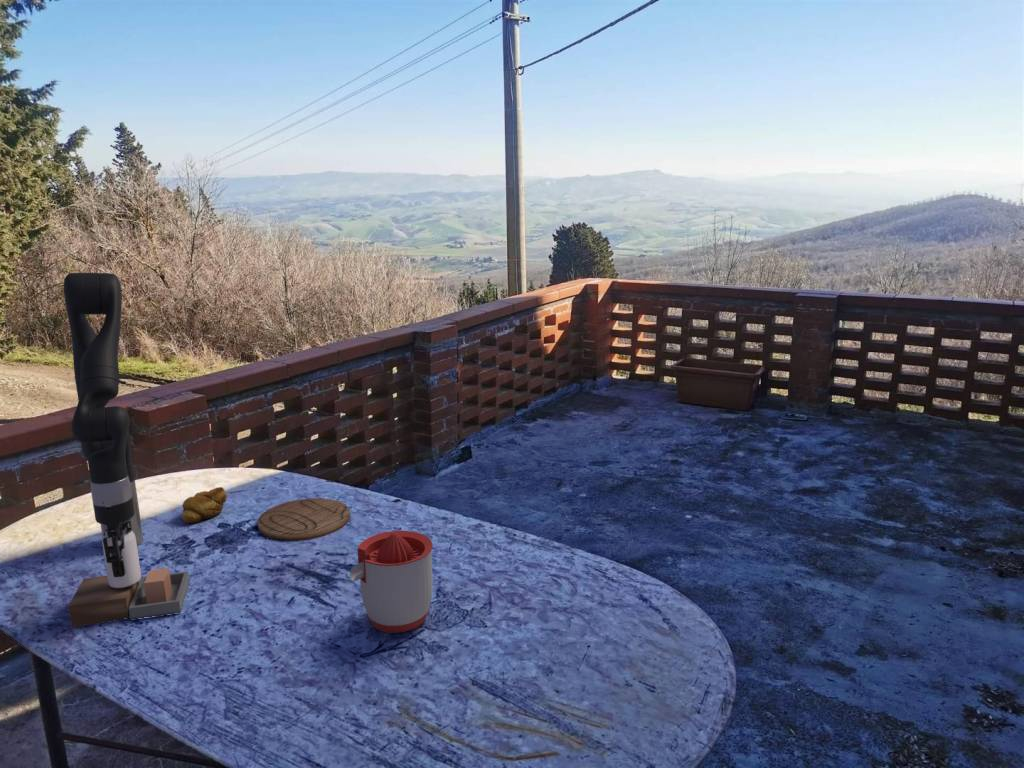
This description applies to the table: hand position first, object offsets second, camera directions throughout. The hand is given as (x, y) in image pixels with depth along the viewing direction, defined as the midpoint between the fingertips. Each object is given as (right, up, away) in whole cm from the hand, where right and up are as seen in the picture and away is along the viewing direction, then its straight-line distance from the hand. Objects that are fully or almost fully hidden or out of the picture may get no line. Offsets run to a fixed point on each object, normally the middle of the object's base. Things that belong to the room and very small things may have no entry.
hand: (123, 568), depth 161 cm
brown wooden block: (-4, -9, +1) cm, 10 cm away
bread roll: (-3, +2, +49) cm, 49 cm away
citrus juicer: (+60, -10, -5) cm, 61 cm away
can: (0, -3, +1) cm, 3 cm away
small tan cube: (+4, -5, +2) cm, 7 cm away
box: (+7, -8, +4) cm, 11 cm away
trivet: (+27, +2, +45) cm, 53 cm away
